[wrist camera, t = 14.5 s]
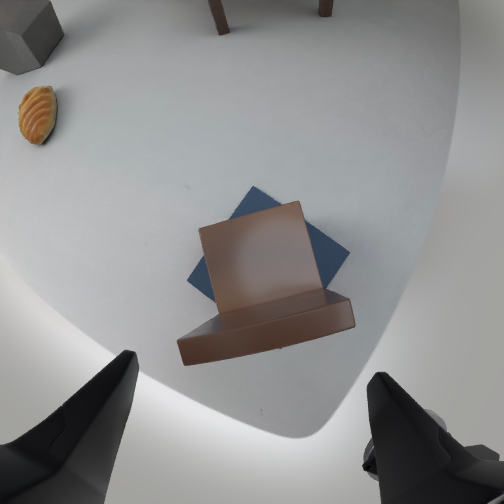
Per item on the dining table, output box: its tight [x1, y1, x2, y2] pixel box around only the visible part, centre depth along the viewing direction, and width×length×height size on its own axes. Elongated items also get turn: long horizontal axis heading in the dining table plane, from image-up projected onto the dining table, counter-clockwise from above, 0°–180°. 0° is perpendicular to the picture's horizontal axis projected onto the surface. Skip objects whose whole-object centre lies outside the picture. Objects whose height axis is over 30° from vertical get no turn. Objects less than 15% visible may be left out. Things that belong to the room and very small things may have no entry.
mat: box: [187, 186, 350, 349], centre depth 21 cm, size 9×9×1 cm
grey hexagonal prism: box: [0, 0, 64, 75], centre depth 20 cm, size 17×8×21 cm
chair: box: [177, 201, 356, 366], centre depth 15 cm, size 6×6×12 cm
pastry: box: [18, 86, 57, 145], centre depth 24 cm, size 9×7×4 cm
